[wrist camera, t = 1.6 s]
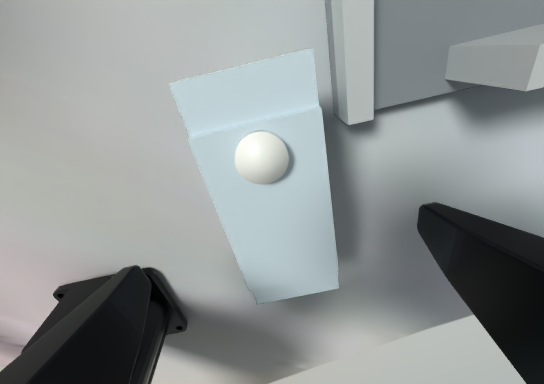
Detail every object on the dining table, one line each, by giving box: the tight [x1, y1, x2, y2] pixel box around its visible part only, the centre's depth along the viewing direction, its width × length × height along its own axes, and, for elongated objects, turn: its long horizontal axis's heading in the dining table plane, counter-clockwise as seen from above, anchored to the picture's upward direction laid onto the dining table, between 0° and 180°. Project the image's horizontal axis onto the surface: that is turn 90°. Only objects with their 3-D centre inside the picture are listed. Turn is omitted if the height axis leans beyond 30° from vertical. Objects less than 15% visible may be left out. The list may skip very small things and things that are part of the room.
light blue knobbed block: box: [169, 48, 339, 305], centre depth 11 cm, size 10×4×5 cm, turn 12°
